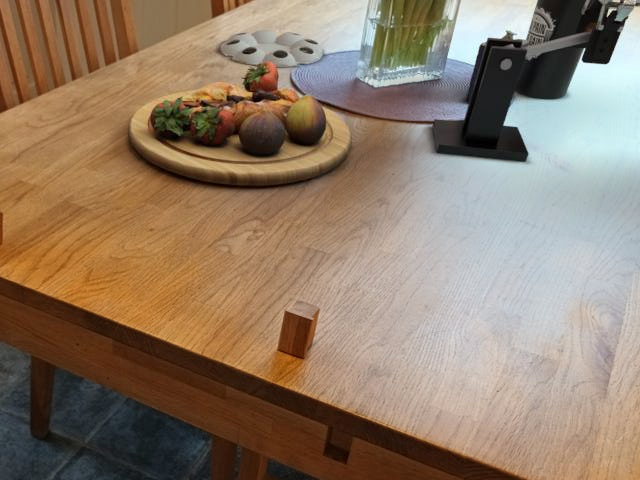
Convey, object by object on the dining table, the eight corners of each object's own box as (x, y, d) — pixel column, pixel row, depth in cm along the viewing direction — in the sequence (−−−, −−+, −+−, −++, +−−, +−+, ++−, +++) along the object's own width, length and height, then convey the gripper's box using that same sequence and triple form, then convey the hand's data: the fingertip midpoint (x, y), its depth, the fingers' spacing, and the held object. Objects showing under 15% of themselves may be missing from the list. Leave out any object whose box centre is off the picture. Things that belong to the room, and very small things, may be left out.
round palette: (199, 51, 137) (200, 40, 136) (258, 31, 149) (259, 20, 148) (285, 74, 128) (287, 62, 126) (341, 50, 139) (343, 39, 138)
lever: (597, 35, 96) (597, 17, 94) (608, 48, 91) (608, 29, 90) (489, 62, 101) (488, 45, 99) (495, 76, 96) (493, 58, 95)
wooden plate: (205, 88, 121) (207, 36, 116) (384, 132, 107) (396, 76, 102) (82, 149, 101) (79, 89, 96) (284, 213, 87) (293, 148, 82)
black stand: (515, 134, 107) (547, 37, 99) (525, 161, 100) (562, 58, 91) (432, 126, 109) (457, 30, 101) (436, 152, 102) (464, 51, 93)
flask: (504, 93, 122) (526, 25, 115) (517, 99, 119) (539, 30, 113) (460, 99, 119) (479, 31, 112) (472, 105, 117) (493, 36, 110)
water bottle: (496, 81, 126) (542, -70, 112) (551, 79, 127) (604, -70, 113) (525, 101, 119) (579, -58, 104) (583, 99, 120) (644, -58, 105)
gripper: (711, -95, 76) (637, 78, 88) (661, -114, 89) (602, 39, 101) (634, -99, 77) (571, 73, 89) (596, -117, 90) (546, 35, 102)
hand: (588, 53), depth 95 cm, fingers closed on lever, 6 cm apart
